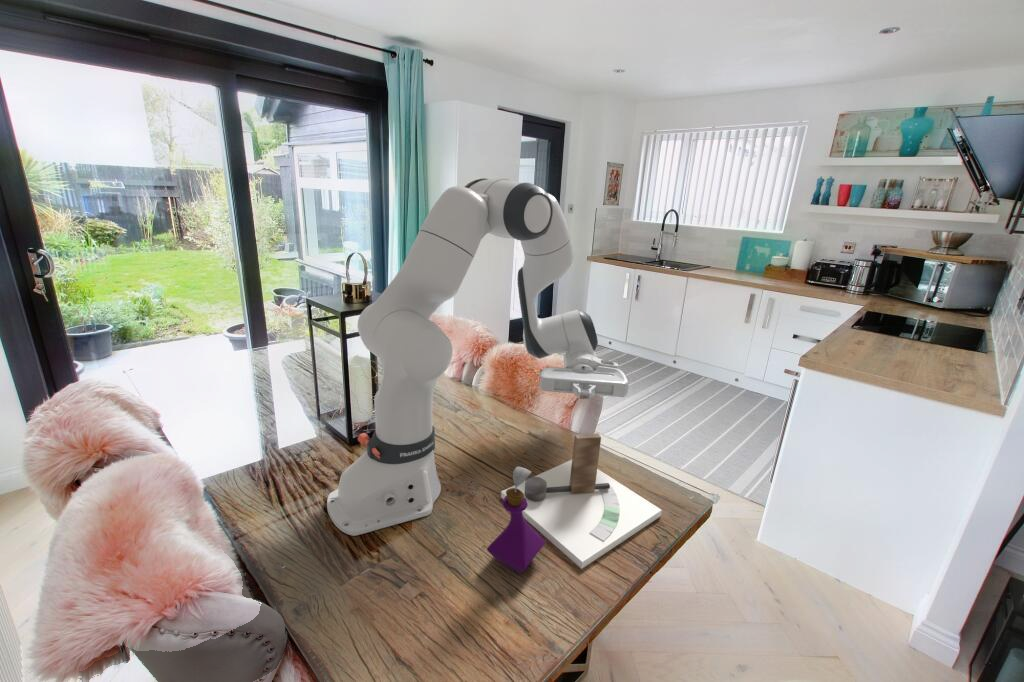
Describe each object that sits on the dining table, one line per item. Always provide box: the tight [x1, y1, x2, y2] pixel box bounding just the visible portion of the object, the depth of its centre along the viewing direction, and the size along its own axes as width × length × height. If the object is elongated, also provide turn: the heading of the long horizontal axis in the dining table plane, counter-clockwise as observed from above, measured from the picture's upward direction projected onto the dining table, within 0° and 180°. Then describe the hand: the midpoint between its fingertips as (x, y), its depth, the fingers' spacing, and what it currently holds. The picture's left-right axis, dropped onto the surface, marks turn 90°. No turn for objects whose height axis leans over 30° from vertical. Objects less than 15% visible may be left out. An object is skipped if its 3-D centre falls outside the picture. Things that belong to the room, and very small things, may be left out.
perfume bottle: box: [486, 466, 547, 574], centre depth 75 cm, size 8×8×18 cm
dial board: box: [500, 459, 663, 570], centre depth 92 cm, size 23×23×2 cm
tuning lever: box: [525, 432, 610, 501], centre depth 91 cm, size 18×4×13 cm, turn 100°
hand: (584, 396), depth 98 cm, fingers closed
